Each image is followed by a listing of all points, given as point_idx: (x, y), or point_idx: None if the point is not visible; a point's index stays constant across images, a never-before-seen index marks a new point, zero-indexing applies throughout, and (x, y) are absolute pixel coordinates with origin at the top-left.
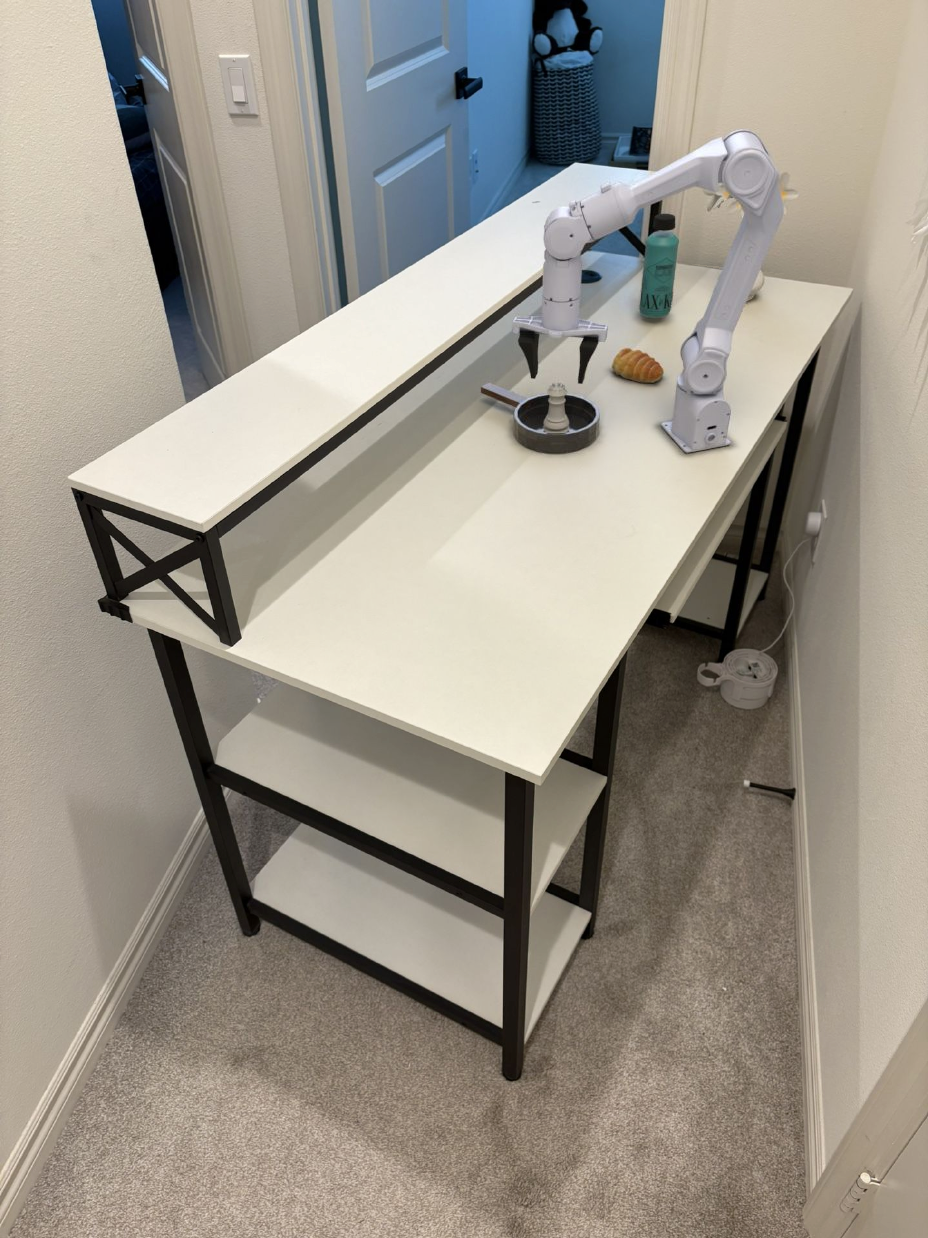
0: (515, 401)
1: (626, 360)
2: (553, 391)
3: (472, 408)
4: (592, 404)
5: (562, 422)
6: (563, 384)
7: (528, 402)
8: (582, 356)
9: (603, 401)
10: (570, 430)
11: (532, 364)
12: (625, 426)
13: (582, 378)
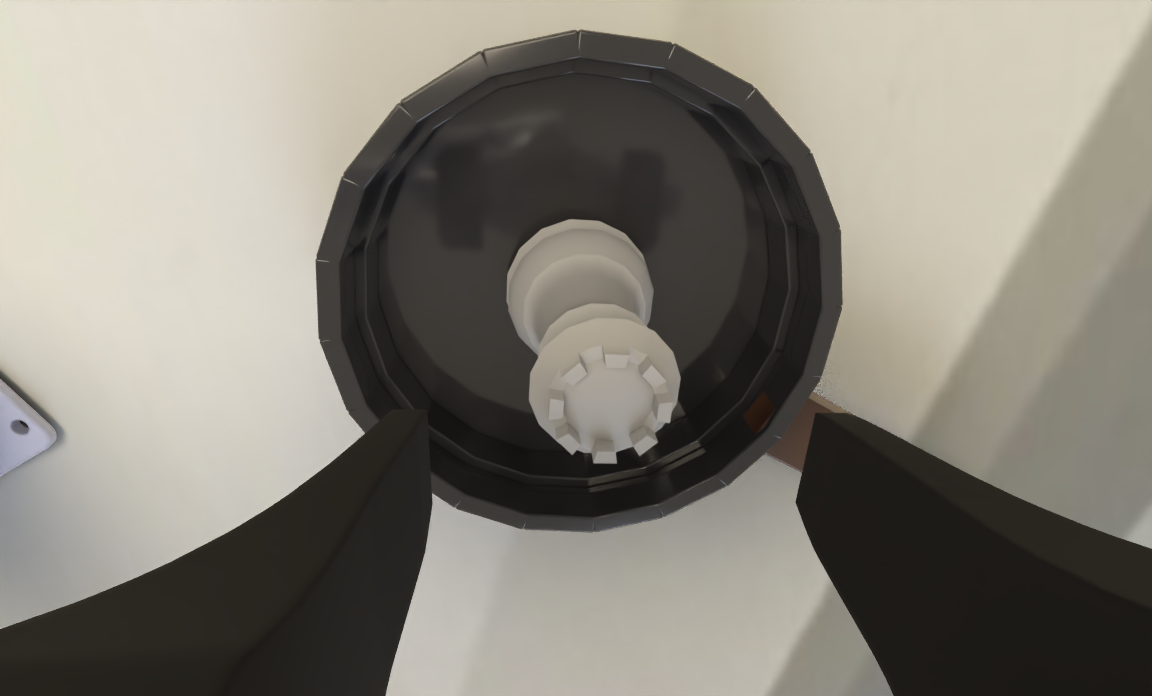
0: (836, 412)
1: None
2: (630, 353)
3: (996, 419)
4: None
5: (541, 272)
6: (566, 443)
7: (762, 419)
8: (268, 571)
9: None
10: (502, 296)
11: (920, 472)
12: (241, 400)
13: (370, 429)
